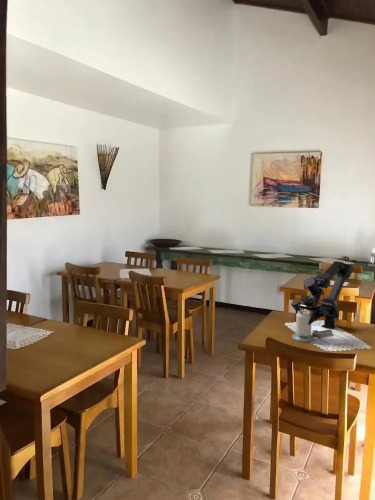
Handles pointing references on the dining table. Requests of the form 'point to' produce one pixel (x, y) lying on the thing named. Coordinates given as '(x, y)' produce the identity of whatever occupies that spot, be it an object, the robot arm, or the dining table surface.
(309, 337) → the pad
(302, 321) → the can
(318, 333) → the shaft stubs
